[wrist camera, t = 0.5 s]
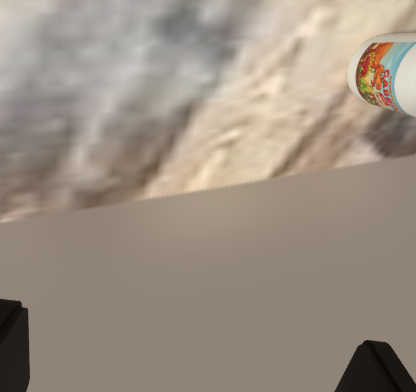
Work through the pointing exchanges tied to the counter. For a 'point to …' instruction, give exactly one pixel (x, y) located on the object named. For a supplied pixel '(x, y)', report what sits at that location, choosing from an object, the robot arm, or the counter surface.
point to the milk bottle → (386, 72)
